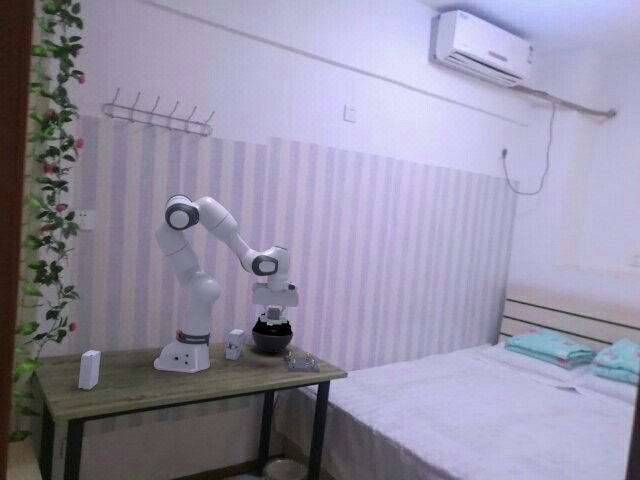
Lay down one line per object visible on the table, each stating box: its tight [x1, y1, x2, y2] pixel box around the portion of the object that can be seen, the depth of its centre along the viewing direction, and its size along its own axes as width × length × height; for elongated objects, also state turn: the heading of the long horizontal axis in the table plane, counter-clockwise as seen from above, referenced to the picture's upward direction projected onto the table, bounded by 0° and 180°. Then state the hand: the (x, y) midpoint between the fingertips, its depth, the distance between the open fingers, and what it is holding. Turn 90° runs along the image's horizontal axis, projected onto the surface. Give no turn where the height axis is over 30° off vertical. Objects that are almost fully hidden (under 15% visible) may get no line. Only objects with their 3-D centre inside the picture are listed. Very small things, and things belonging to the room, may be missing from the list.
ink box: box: [225, 328, 246, 361], centre depth 221 cm, size 9×5×12 cm, turn 168°
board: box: [258, 307, 288, 325], centre depth 211 cm, size 11×13×5 cm
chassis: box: [282, 351, 321, 373], centre depth 219 cm, size 14×15×5 cm
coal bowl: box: [251, 312, 294, 353], centre depth 235 cm, size 20×20×19 cm
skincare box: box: [78, 349, 101, 390], centre depth 172 cm, size 6×4×12 cm
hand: (273, 315), depth 212 cm, fingers closed on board, 4 cm apart
